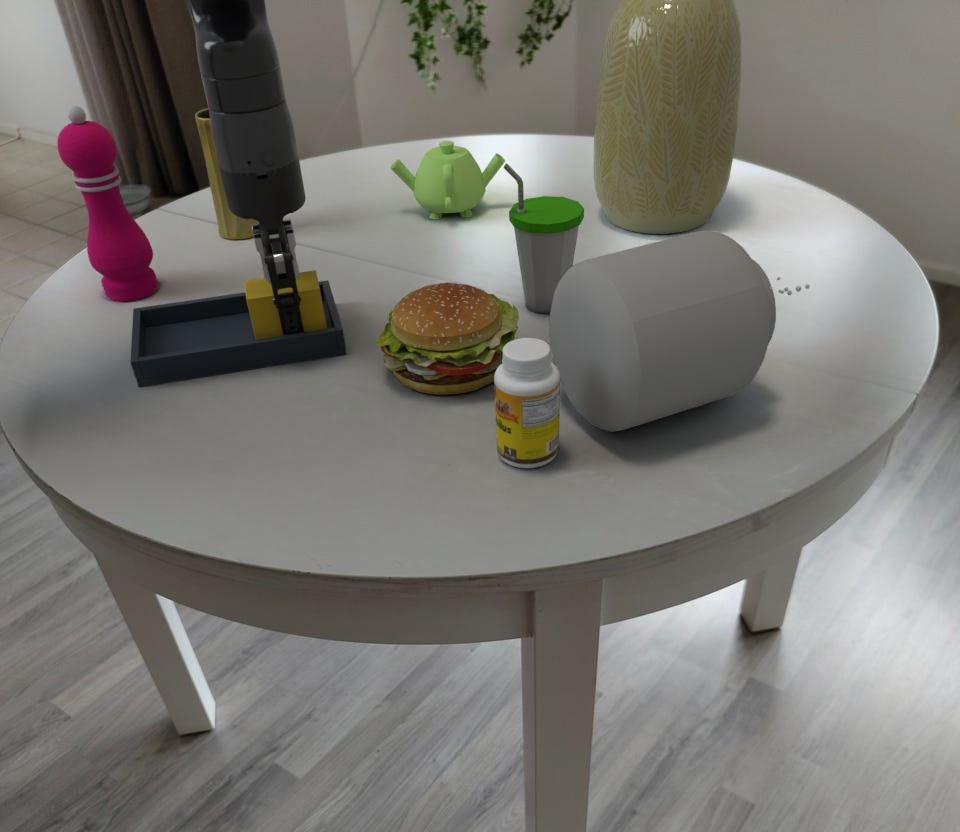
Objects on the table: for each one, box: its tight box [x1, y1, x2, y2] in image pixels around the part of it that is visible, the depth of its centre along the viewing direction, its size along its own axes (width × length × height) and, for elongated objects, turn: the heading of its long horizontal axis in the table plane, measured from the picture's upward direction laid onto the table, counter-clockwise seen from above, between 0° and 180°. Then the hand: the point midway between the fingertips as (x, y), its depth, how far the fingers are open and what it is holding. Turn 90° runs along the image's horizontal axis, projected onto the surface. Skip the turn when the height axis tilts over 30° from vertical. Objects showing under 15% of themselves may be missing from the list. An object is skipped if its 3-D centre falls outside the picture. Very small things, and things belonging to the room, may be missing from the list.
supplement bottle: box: [493, 337, 561, 469], centre depth 81 cm, size 6×6×10 cm
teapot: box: [390, 140, 506, 220], centre depth 123 cm, size 11×12×8 cm
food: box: [375, 282, 520, 396], centre depth 93 cm, size 14×14×8 cm
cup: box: [503, 162, 585, 315], centre depth 100 cm, size 8×8×15 cm
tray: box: [130, 279, 348, 388], centre depth 101 cm, size 22×13×3 cm, turn 104°
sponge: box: [244, 269, 327, 339], centre depth 99 cm, size 8×5×6 cm, turn 102°
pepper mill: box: [56, 105, 159, 302], centre depth 106 cm, size 7×7×20 cm
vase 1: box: [194, 107, 259, 240], centre depth 119 cm, size 6×6×14 cm
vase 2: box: [593, 0, 743, 235], centre depth 112 cm, size 17×17×27 cm
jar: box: [548, 230, 811, 432], centre depth 85 cm, size 19×15×25 cm
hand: (292, 325), depth 100 cm, fingers closed on sponge, 4 cm apart
